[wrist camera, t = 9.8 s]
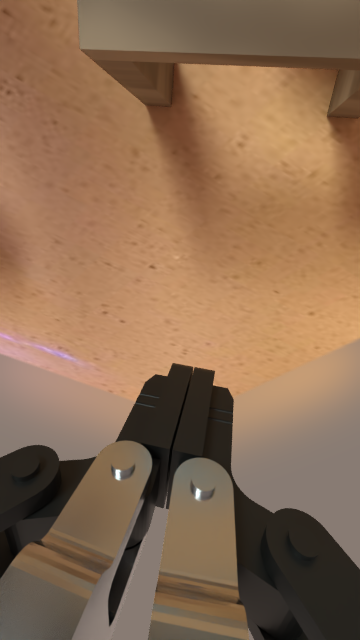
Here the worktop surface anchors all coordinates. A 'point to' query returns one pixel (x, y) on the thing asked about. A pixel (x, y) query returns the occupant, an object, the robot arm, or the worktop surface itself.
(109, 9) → the bridge
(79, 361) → the worktop surface
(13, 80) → the worktop surface
